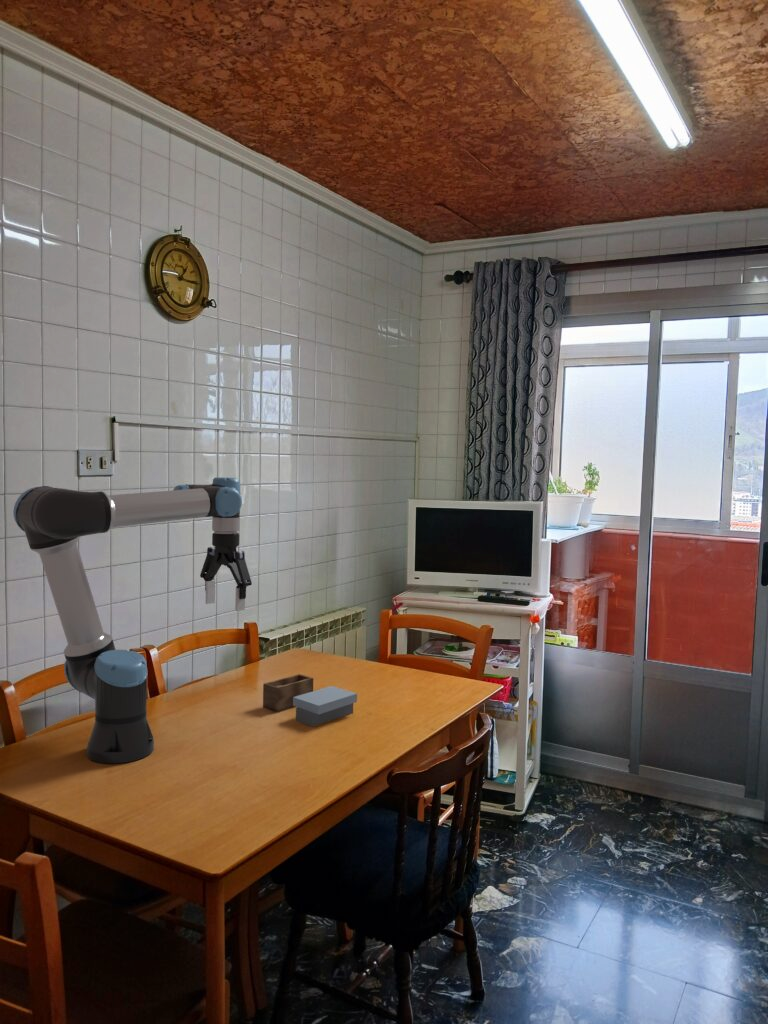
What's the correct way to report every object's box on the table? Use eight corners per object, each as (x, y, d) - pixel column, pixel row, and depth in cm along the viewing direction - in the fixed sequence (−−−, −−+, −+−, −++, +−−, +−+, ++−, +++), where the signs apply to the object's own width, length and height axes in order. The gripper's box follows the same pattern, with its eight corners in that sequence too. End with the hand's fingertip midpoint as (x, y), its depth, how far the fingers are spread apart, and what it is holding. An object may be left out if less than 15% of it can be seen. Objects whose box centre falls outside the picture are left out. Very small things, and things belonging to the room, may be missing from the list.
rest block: (312, 727, 202) (312, 713, 202) (295, 721, 207) (296, 707, 206) (353, 712, 215) (353, 700, 214) (336, 707, 219) (337, 695, 218)
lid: (318, 714, 201) (318, 705, 201) (292, 705, 208) (293, 697, 208) (356, 701, 213) (357, 693, 213) (331, 694, 219) (331, 685, 219)
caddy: (276, 712, 213) (277, 688, 213) (262, 707, 217) (263, 683, 216) (312, 701, 224) (313, 678, 223) (298, 696, 228) (299, 674, 227)
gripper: (265, 535, 209) (263, 611, 210) (209, 528, 225) (208, 598, 226) (243, 536, 203) (242, 615, 204) (188, 529, 219) (187, 602, 221)
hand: (224, 606), depth 215 cm, fingers open, 13 cm apart
